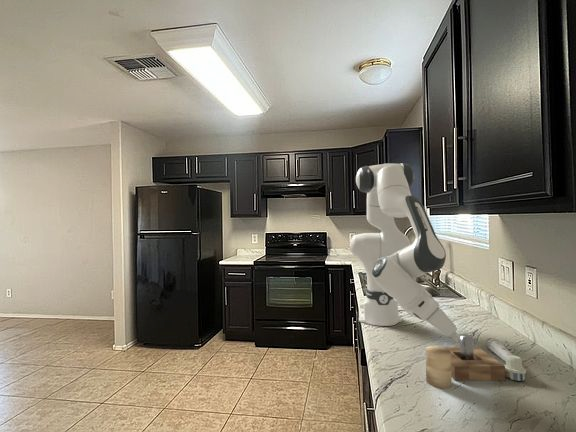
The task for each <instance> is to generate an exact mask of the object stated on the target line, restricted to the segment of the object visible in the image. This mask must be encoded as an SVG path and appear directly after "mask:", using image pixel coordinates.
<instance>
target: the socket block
mask: <svg viewBox="0 0 576 432" xmlns="http://www.w3.org/2000/svg"><path fill="white" fill-rule="evenodd" d="M444 347H445V348H447V349H449V350H450V351H451V379H453V380H454V381H506V376H505V366H504V365H505V364H503V363H501V362H500V361H498V360H497V359H496V358H494V357H493V356H492V355H490V354H489V353H487V352H486V351H484V350H483V349H482V348H480V347H479V346H473V355H474V360H461V359H460V346H444Z"/></svg>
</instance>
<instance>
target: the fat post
mask: <svg viewBox="0 0 576 432" xmlns="http://www.w3.org/2000/svg"><path fill="white" fill-rule="evenodd" d="M445 347H446V346H442V345H441V346H440V345H429V346H426V347H425V381H426V384H428V385H429V386H431V387H435V388H436V389H437V388H438V389H449V388H451V387H452V379H453V378H452V377H451V351H450V350H449V349H447V348H445Z"/></svg>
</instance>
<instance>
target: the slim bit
mask: <svg viewBox="0 0 576 432" xmlns="http://www.w3.org/2000/svg"><path fill="white" fill-rule="evenodd" d="M459 336H460V339H459V347H460V359H461V360H474V355H473V347H474V336H473V335H471V334H468V333H461V334H459Z"/></svg>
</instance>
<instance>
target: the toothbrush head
mask: <svg viewBox="0 0 576 432" xmlns="http://www.w3.org/2000/svg"><path fill="white" fill-rule="evenodd" d="M486 346H487V348H488V350H490V352H492V353H494V354H495V355H496V356H498V357H499V358H500V359H501V360H502V361H504V362H505V364H503V365H504V366H505V378H510V380H513V381H519V382H522V381H525V380H526V373H527V369H526V368H524V366H523V359H522V358H521V357H520V356H517V355H514V354H512V353H511V352H510V350H508V349H507V348H506V347H505V346H504V344H503V343H502V342H501V341H500V340H499V339H496V338H491V337H490V338H488V339H487V340H486Z"/></svg>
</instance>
